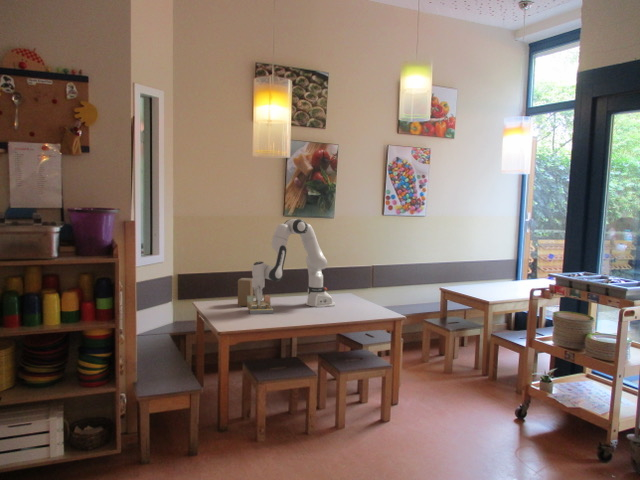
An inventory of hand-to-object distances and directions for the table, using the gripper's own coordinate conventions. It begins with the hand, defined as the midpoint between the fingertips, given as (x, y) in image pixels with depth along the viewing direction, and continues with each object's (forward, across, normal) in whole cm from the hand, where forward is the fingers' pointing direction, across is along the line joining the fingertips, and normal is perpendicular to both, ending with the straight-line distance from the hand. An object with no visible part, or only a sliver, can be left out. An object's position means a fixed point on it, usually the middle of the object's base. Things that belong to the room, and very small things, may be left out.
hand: (258, 303), depth 349 cm
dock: (+6, 0, -2) cm, 6 cm away
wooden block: (+6, +23, +7) cm, 25 cm away
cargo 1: (-2, 0, +6) cm, 6 cm away
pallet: (+3, 0, 0) cm, 3 cm away
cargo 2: (-2, 0, -6) cm, 7 cm away
